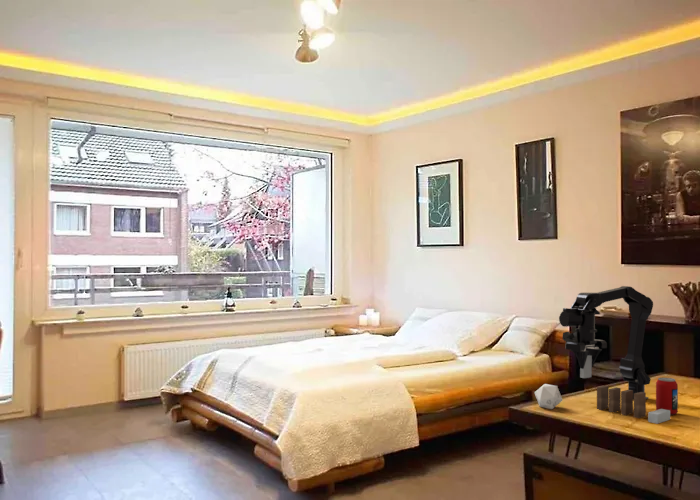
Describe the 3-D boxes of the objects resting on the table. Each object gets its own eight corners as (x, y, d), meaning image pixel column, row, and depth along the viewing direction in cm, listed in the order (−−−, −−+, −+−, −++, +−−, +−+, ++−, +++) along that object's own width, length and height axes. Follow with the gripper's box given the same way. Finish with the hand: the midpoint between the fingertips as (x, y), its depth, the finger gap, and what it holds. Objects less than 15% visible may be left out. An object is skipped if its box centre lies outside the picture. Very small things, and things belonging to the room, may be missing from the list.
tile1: (596, 409, 218) (596, 387, 218) (604, 407, 221) (604, 385, 222) (601, 410, 217) (601, 387, 217) (608, 408, 220) (608, 386, 220)
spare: (580, 377, 228) (580, 356, 228) (587, 376, 231) (588, 355, 231) (583, 378, 227) (584, 356, 227) (591, 377, 230) (591, 355, 230)
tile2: (608, 411, 215) (608, 389, 215) (616, 409, 218) (616, 387, 218) (613, 412, 214) (613, 389, 214) (620, 410, 217) (620, 388, 217)
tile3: (621, 414, 211) (621, 391, 211) (628, 412, 214) (628, 389, 214) (625, 415, 210) (625, 392, 210) (632, 413, 213) (632, 390, 213)
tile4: (633, 417, 208) (633, 393, 208) (641, 415, 211) (641, 391, 211) (638, 418, 206) (638, 394, 207) (645, 415, 209) (645, 392, 210)
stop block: (661, 417, 207) (661, 408, 207) (670, 419, 205) (670, 410, 205) (648, 421, 202) (648, 412, 202) (657, 423, 199) (657, 414, 199)
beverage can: (680, 416, 209) (680, 381, 209) (659, 415, 211) (659, 380, 211) (674, 411, 216) (674, 377, 216) (653, 410, 217) (653, 376, 217)
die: (540, 412, 216) (558, 391, 214) (525, 395, 224) (542, 375, 221) (553, 417, 221) (571, 397, 219) (539, 400, 228) (556, 381, 226)
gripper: (581, 323, 241) (581, 362, 241) (553, 325, 230) (552, 366, 230) (607, 326, 232) (607, 367, 232) (579, 328, 221) (579, 371, 221)
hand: (586, 367), depth 229 cm, fingers closed on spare, 5 cm apart
